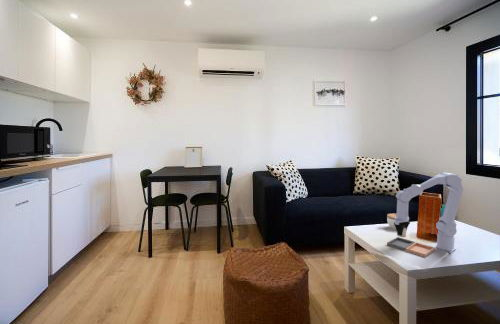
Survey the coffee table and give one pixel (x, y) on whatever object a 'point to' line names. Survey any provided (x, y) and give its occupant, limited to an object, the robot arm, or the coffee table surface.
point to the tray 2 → (420, 249)
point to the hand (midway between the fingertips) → (401, 234)
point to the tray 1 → (400, 243)
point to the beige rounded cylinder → (403, 233)
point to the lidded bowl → (391, 220)
